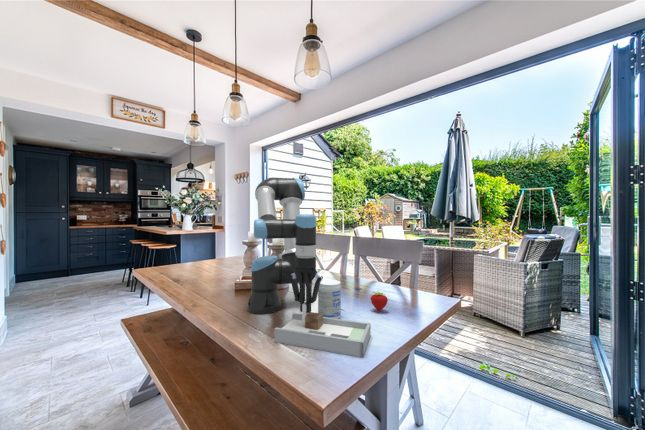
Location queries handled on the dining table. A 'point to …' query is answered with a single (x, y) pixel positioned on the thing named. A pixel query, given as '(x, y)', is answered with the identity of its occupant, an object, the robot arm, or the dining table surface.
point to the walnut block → (314, 321)
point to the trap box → (327, 335)
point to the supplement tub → (329, 298)
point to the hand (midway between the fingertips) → (305, 321)
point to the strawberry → (379, 301)
